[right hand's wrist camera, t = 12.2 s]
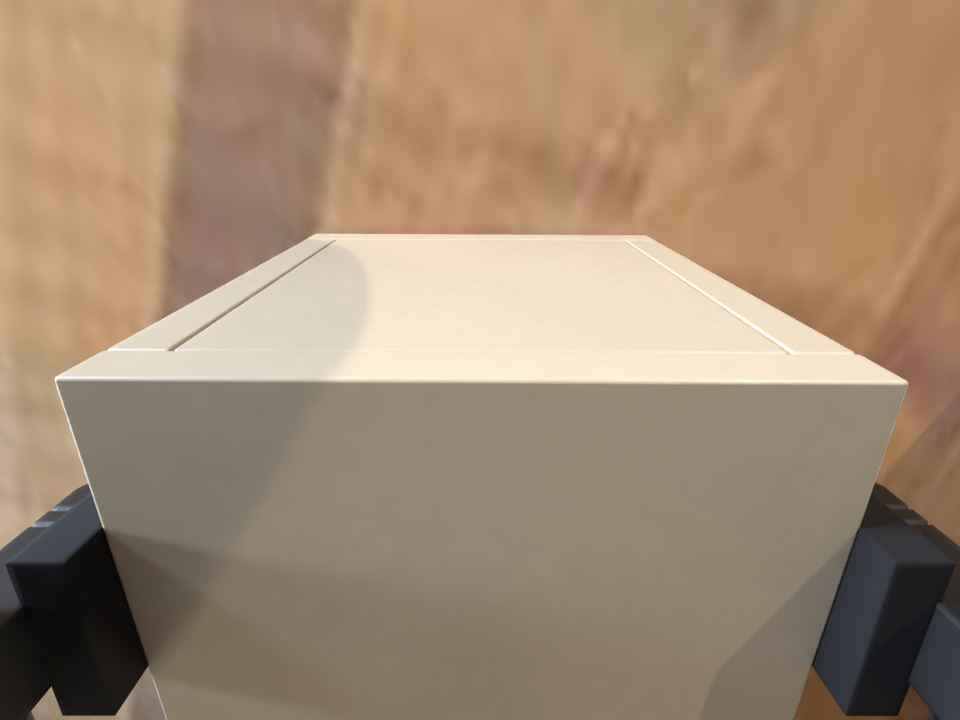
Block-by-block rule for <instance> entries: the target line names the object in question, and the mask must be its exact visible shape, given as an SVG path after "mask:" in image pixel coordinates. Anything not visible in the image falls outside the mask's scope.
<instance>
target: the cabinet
mask: <svg viewBox="0 0 960 720" xmlns="http://www.w3.org/2000/svg"><path fill="white" fill-rule="evenodd" d="M55 383H56V387H57V390H58V393H59V396H60V399H61V402H62V405H63V408H64V411H65V414H66V417H67V420H68V423H69V426H70V429H71V432H72V435H73V438H74V441H75V444H76V447H77V450H78V453H79V456H80V459H81V462H82V465H83V468H84V472H85V475H86V478H87V481H88V484H89V487H90V490H91V493H92V496H93V499H94V502H95V505H96V508H97V511H98V514H99V517H100V520H101V523H102V526H103V529H104V532H105V535H106V538H107V541H108V544H109V547H110V550H111V553H112V557H113V560H114V563H115V566H116V569H117V572H118V575H119V578H120V581H121V584H122V587H123V590H124V593H125V596H126V599H127V602H128V605H129V608H130V611H131V614H132V617H133V620H134V623H135V626H136V629H137V632H138V635H139V638H140V641H141V644H142V647H143V650H144V653H145V656H146V659H147V662H148V666H149V669H150V672H151V675H152V678H153V681H154V684H155V687H156V690H157V693H158V696H159V699H160V702H161V705H162V708H163V711H164V714H165V717H166V720H794V717H795V714H796V711H797V708H798V705H799V702H800V699H801V696H802V693H803V690H804V688H805V685H806V682H807V679H808V676H809V673H810V670H811V667H812V664H813V661H814V658H815V656H816V653H817V650H818V647H819V644H820V641H821V638H822V635H823V632H824V629H825V626H826V624H827V621H828V618H829V615H830V612H831V609H832V606H833V603H834V600H835V597H836V594H837V591H838V589H839V586H840V583H841V580H842V577H843V574H844V571H845V568H846V565H847V562H848V559H849V557H850V554H851V551H852V548H853V545H854V542H855V539H856V536H857V533H858V530H859V527H860V525H861V522H862V519H863V516H864V513H865V510H866V507H867V504H868V501H869V498H870V495H871V493H872V490H873V487H874V484H875V481H876V478H877V475H878V472H879V469H880V466H881V463H882V461H883V458H884V455H885V452H886V449H887V446H888V443H889V440H890V437H891V434H892V431H893V429H894V426H895V423H896V420H897V417H898V414H899V411H900V408H901V405H902V402H903V399H904V397H905V394H906V391H907V388H908V382H907V381H906V380H904V379H902V378H901V377H899V376H897V375H895V374H893V373H892V372H890V371H888V370H886V369H885V368H883V367H881V366H879V365H877V364H876V363H874V362H872V361H870V360H868V359H867V358H865V357H863V356H861V355H856V354H855V352H853V351H851V350H849V349H847V348H846V347H844V346H842V345H840V344H838V343H837V342H835V341H833V340H831V339H830V338H828V337H826V336H824V335H822V334H821V333H819V332H817V331H815V330H813V329H812V328H810V327H808V326H806V325H805V324H803V323H801V322H799V321H797V320H796V319H794V318H792V317H790V316H788V315H787V314H785V313H783V312H781V311H780V310H778V309H776V308H774V307H772V306H771V305H769V304H767V303H765V302H763V301H762V300H760V299H758V298H756V297H755V296H753V295H751V294H749V293H747V292H746V291H744V290H742V289H740V288H738V287H737V286H735V285H733V284H731V283H730V282H728V281H726V280H724V279H722V278H721V277H719V276H717V275H715V274H713V273H712V272H710V271H708V270H706V269H705V268H703V267H701V266H699V265H697V264H696V263H694V262H692V261H690V260H688V259H687V258H685V257H683V256H681V255H680V254H678V253H676V252H674V251H672V250H671V249H669V248H667V247H665V246H663V245H662V244H660V243H658V242H656V241H655V240H653V239H651V238H650V237H648V236H642V235H447V234H315V235H313V236H311V237H310V238H308V239H307V240H305V241H303V242H301V243H299V244H298V245H296V246H294V247H292V248H290V249H289V250H287V251H285V252H283V253H281V254H279V255H278V256H276V257H274V258H272V259H270V260H269V261H267V262H265V263H263V264H261V265H260V266H258V267H256V268H254V269H252V270H251V271H249V272H247V273H245V274H243V275H241V276H240V277H238V278H236V279H234V280H232V281H231V282H229V283H227V284H225V285H223V286H222V287H220V288H218V289H216V290H214V291H213V292H211V293H209V294H207V295H205V296H203V297H202V298H200V299H198V300H196V301H194V302H193V303H191V304H189V305H187V306H185V307H184V308H182V309H180V310H178V311H176V312H175V313H173V314H171V315H169V316H167V317H166V318H164V319H162V320H160V321H158V322H156V323H155V324H153V325H151V326H149V327H147V328H146V329H144V330H142V331H140V332H138V333H137V334H135V335H133V336H131V337H129V338H128V339H126V340H124V341H122V342H120V343H118V344H117V345H115V346H113V347H111V348H109V350H108V351H102V352H100V353H98V354H97V355H95V356H93V357H91V358H89V359H88V360H86V361H84V362H82V363H80V364H78V365H77V366H75V367H73V368H71V369H69V370H68V371H66V372H64V373H62V374H60V375H58V376H57V377H56V378H55Z"/></svg>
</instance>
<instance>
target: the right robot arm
mask: <svg viewBox="0 0 960 720" xmlns="http://www.w3.org/2000/svg"><path fill="white" fill-rule="evenodd" d="M812 666H813V667H814V669H815V670H816V672H817V673H818V675H819V676H820V678H821V679H822V681H823V682H824V684H825V685H826V687H827V688H828V690H829V692H830V693H831V695H832V696H833V698H834V699H835V701H836V702H837V704H838V705H839V707H840V708H841V710H842V711H843V713H844V714H845V716H898V714H899V712H900V709H901V706H902V704H903V701H904V699H905V696H906V693H907V691H908V688H909V685H911V686H912V687H913V688H914V690H915V691H916V692H917V693H918V694H919V696H920V697H921V698H922V699H923V700H924V702H925V703H926V704H927V705H928V706H929V708H930V710H929V712H928V715H927V717H926V720H960V547H959V546H958V545H957V544H955V543H954V542H953V541H952V540H950V539H949V538H948V537H947V536H945V535H944V534H943V533H942V532H940V531H939V530H938V529H937V528H935V527H934V526H933V525H928V524H927V521H926V520H925V519H924V518H923V517H921V516H920V515H919V514H918V513H916V512H915V511H914V510H913V509H908V505H906V504H905V503H904V502H903V501H901V500H900V499H899V498H898V497H896V496H895V495H894V494H892V493H891V492H890V491H889V490H887V489H886V488H885V487H883V486H881V485H879V484H877V483H875V484H874V487H873V490H872V493H871V495H870V498H869V501H868V504H867V507H866V510H865V513H864V516H863V519H862V522H861V525H860V527H859V530H858V533H857V536H856V539H855V542H854V545H853V548H852V551H851V554H850V557H849V559H848V562H847V565H846V568H845V571H844V574H843V577H842V580H841V583H840V586H839V589H838V591H837V594H836V597H835V600H834V603H833V606H832V609H831V612H830V615H829V618H828V621H827V624H826V626H825V629H824V632H823V635H822V638H821V641H820V644H819V647H818V650H817V653H816V656H815V658H814V661H813V664H812ZM147 667H148V662H147V659H146V656H145V653H144V650H143V647H142V644H141V641H140V638H139V635H138V632H137V629H136V626H135V623H134V620H133V617H132V614H131V611H130V608H129V605H128V602H127V599H126V596H125V593H124V590H123V587H122V584H121V581H120V578H119V575H118V572H117V569H116V566H115V563H114V560H113V557H112V553H111V550H110V547H109V544H108V541H107V538H106V535H105V532H104V529H103V526H102V523H101V520H100V517H99V514H98V511H97V508H96V505H95V502H94V499H93V496H92V493H91V490H90V487H89V484H86V485H84V486H82V487H80V488H78V489H76V490H75V491H74V492H72V493H71V494H70V495H69V496H67V497H66V498H65V499H64V500H62V501H61V502H60V503H59V504H57V505H56V506H55V507H54V508H53V511H49V512H47V513H46V514H45V515H44V516H42V517H41V518H40V519H39V520H37V521H36V522H35V523H34V527H29V528H27V529H26V530H25V531H24V532H22V533H21V534H20V535H19V536H17V537H16V538H15V539H14V540H12V541H11V542H10V543H9V544H7V545H6V546H5V547H4V548H2V549H1V550H0V720H34V717H33V715H32V712H31V710H32V709H33V708H34V707H35V705H36V704H37V703H38V702H39V701H40V699H41V698H42V697H43V696H44V695H45V693H46V692H47V691H48V690H49V689H50V687H51V686H52V689H53V691H54V694H55V697H56V699H57V702H58V704H59V707H60V710H61V712H62V715H63V716H115V715H116V713H117V712H118V710H119V709H120V707H121V706H122V704H123V703H124V701H125V700H126V698H127V697H128V695H129V694H130V692H131V691H132V689H133V688H134V686H135V685H136V683H137V682H138V680H139V679H140V677H141V676H142V674H143V673H144V671H145V670H146V668H147Z"/></svg>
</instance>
